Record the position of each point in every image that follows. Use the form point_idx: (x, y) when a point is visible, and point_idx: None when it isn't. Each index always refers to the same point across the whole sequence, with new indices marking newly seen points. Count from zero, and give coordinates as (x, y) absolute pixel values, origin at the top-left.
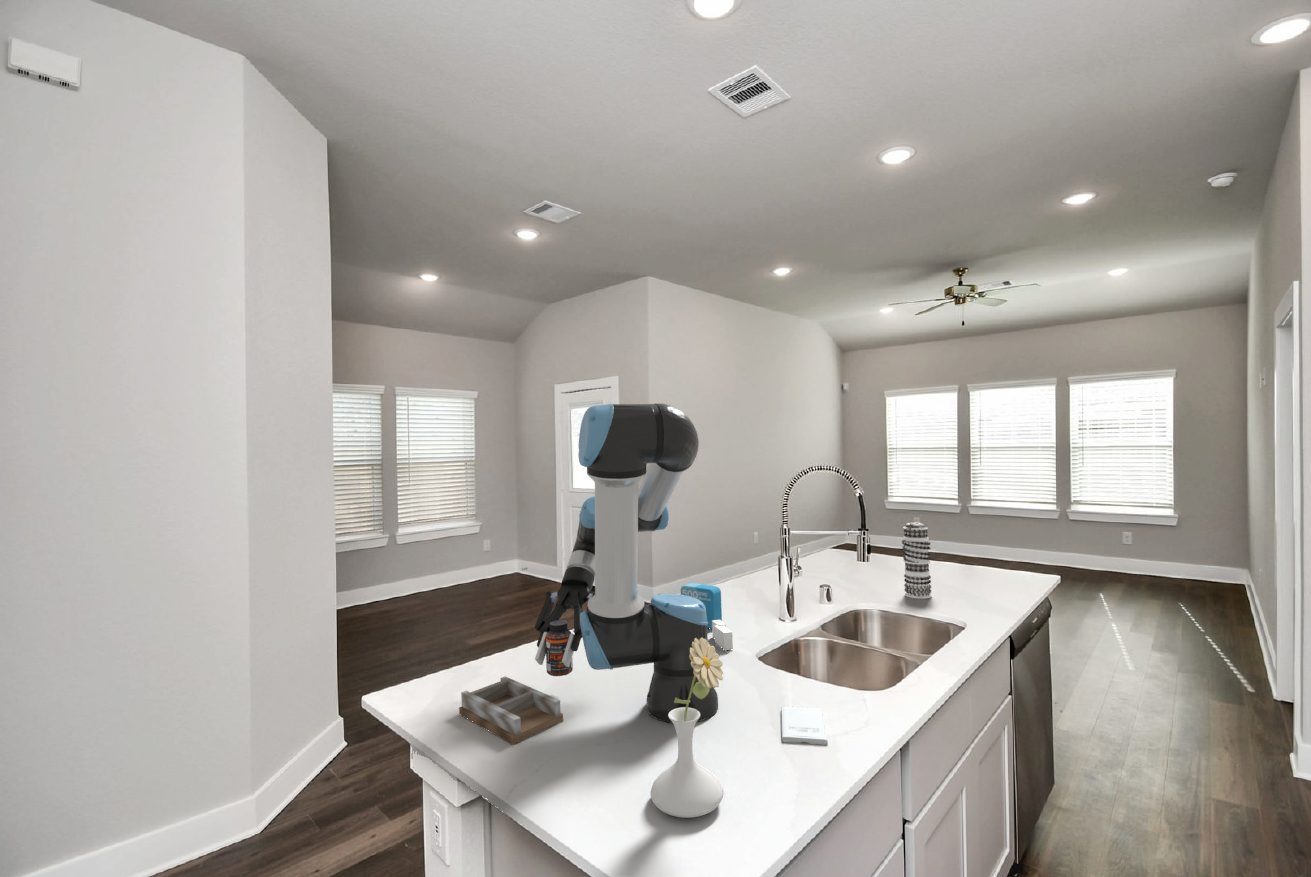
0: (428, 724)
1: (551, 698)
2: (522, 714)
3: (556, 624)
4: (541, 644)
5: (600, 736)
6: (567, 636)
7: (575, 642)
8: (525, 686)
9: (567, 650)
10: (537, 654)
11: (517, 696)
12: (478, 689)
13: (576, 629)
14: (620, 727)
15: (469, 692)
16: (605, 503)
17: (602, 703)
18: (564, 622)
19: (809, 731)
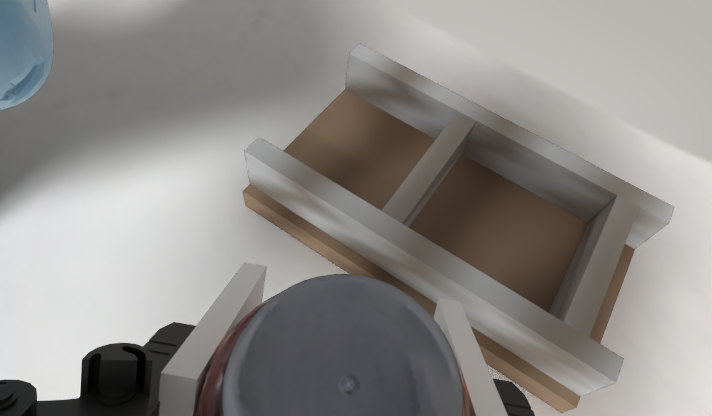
0: (668, 181)
1: (284, 163)
2: (390, 186)
3: (344, 294)
4: (467, 352)
5: (108, 128)
6: (225, 340)
7: (155, 348)
8: (443, 265)
9: (227, 293)
10: (457, 313)
11: (430, 178)
12: (628, 232)
13: (111, 412)
14: (35, 174)
15: (641, 205)
16: None
17: None
18: (258, 389)
19: None
